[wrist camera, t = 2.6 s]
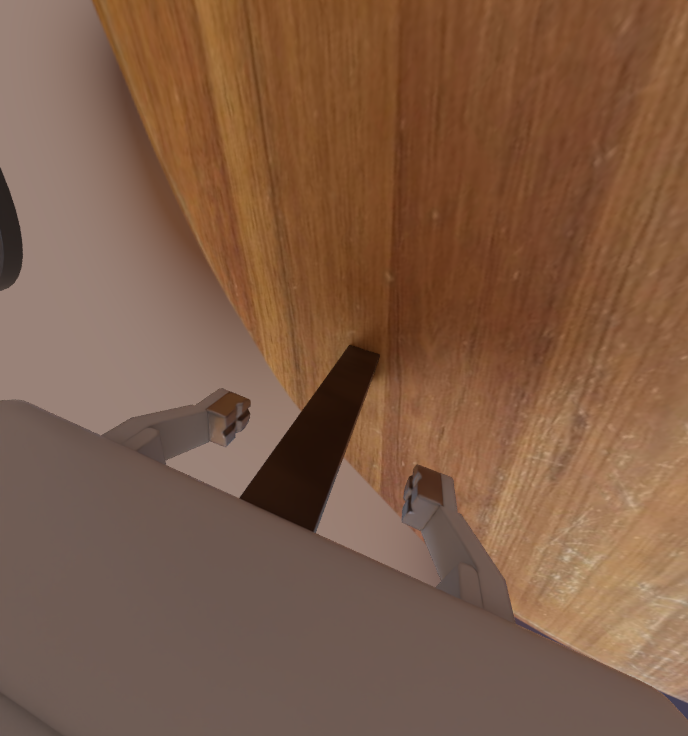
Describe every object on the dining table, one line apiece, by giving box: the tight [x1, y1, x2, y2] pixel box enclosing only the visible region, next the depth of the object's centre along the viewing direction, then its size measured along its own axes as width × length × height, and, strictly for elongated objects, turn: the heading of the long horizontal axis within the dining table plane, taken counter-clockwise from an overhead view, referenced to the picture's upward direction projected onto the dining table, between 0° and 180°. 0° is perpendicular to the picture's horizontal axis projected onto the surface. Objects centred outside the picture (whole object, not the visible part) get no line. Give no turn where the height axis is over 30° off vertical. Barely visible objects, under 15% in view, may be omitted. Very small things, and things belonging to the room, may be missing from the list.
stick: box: [239, 345, 380, 533], centre depth 13 cm, size 2×2×14 cm
